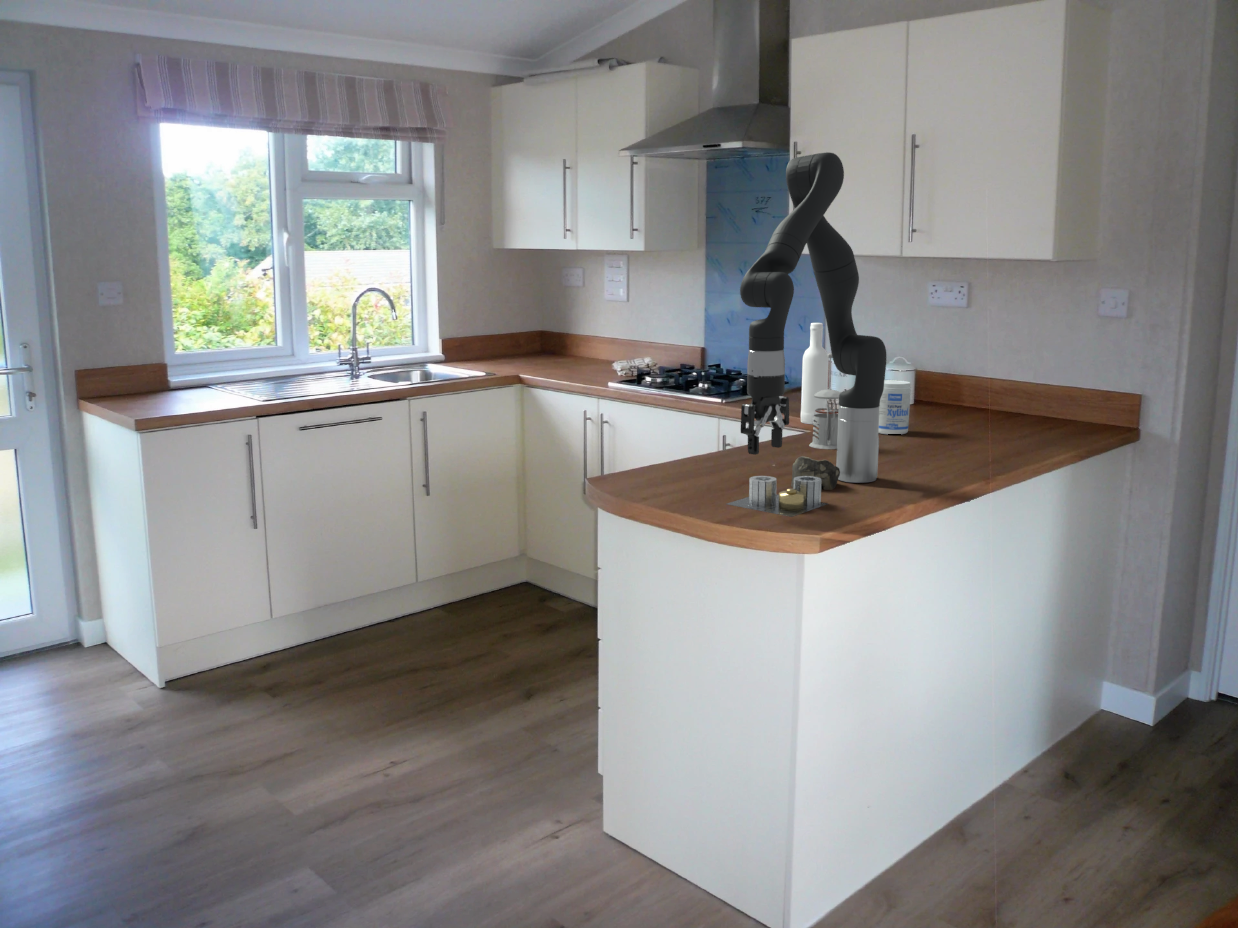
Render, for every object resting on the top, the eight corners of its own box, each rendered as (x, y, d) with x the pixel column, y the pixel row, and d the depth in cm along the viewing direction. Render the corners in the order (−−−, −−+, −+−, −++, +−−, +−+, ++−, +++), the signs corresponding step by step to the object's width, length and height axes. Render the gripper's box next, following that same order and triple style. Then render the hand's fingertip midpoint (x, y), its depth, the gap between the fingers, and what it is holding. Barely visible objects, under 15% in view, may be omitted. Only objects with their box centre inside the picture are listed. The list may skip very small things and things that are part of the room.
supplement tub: (889, 436, 304) (892, 384, 301) (867, 431, 312) (869, 380, 309) (915, 433, 308) (918, 382, 305) (892, 428, 316) (895, 378, 313)
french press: (843, 442, 295) (847, 351, 290) (848, 450, 284) (852, 355, 279) (807, 442, 296) (810, 351, 291) (810, 450, 285) (813, 355, 280)
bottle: (811, 419, 333) (815, 321, 327) (832, 422, 327) (835, 323, 321) (794, 422, 328) (797, 323, 322) (815, 425, 322) (818, 324, 316)
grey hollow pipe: (797, 498, 227) (798, 475, 226) (823, 500, 225) (824, 477, 224) (789, 503, 222) (790, 480, 221) (815, 506, 220) (816, 482, 219)
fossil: (834, 482, 245) (841, 447, 239) (839, 509, 238) (846, 474, 232) (786, 480, 245) (791, 446, 239) (790, 507, 238) (796, 473, 232)
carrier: (763, 497, 233) (764, 474, 232) (828, 509, 223) (829, 485, 222) (725, 509, 223) (725, 485, 222) (791, 522, 212) (792, 497, 211)
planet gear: (758, 497, 228) (759, 474, 226) (780, 501, 224) (781, 478, 223) (743, 502, 223) (744, 479, 222) (766, 506, 220) (766, 482, 219)
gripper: (769, 367, 225) (769, 443, 229) (730, 374, 215) (729, 454, 219) (800, 369, 221) (799, 447, 224) (761, 377, 210) (760, 458, 214)
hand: (765, 450), depth 221 cm, fingers open, 8 cm apart
